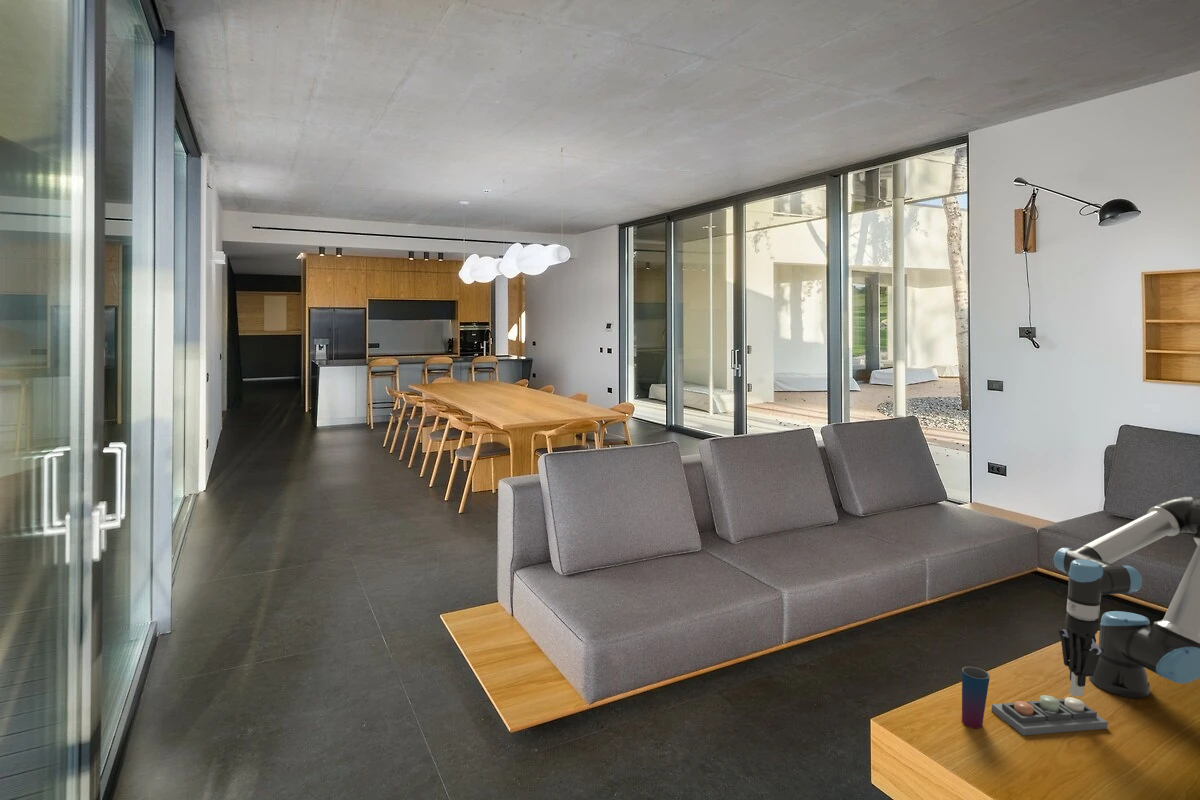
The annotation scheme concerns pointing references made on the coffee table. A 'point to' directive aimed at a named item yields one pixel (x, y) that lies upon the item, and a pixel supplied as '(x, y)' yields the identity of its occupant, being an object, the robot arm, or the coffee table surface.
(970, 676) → the cup
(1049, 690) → the coffee table surface
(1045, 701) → the button sage
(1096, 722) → the panel
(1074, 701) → the button cream
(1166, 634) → the robot arm
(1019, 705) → the button rust
